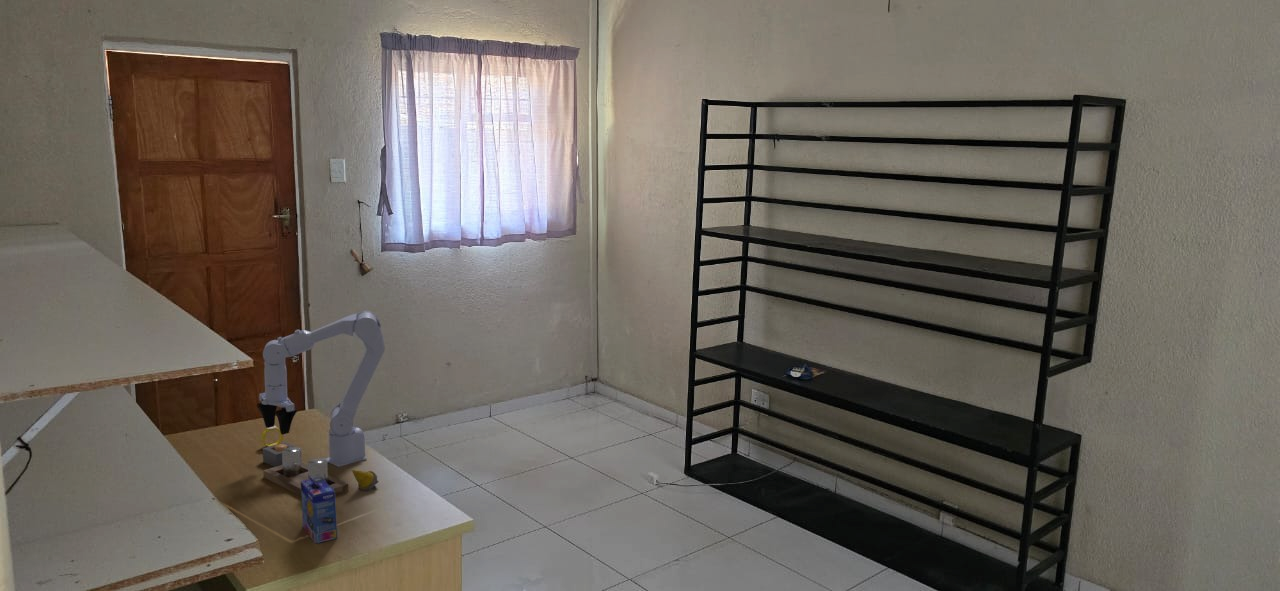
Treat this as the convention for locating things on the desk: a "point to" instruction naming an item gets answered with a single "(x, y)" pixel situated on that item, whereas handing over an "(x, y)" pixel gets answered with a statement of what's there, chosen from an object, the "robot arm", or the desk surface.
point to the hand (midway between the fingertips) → (277, 430)
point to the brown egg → (280, 447)
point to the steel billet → (291, 461)
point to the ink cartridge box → (319, 510)
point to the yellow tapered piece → (365, 479)
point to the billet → (318, 469)
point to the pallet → (300, 480)
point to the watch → (271, 430)
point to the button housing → (273, 455)
